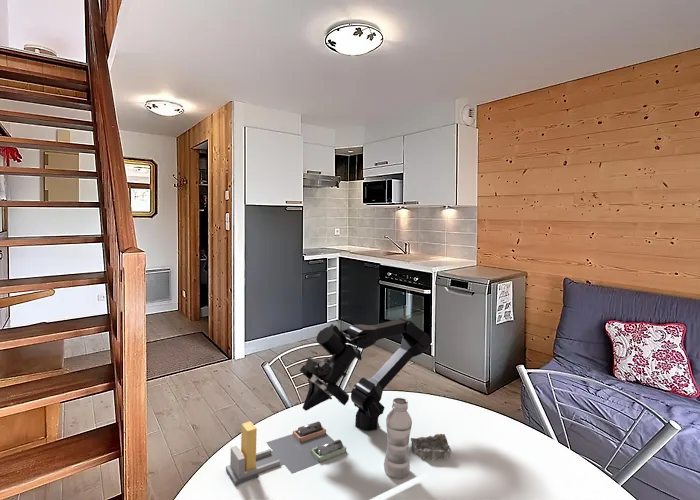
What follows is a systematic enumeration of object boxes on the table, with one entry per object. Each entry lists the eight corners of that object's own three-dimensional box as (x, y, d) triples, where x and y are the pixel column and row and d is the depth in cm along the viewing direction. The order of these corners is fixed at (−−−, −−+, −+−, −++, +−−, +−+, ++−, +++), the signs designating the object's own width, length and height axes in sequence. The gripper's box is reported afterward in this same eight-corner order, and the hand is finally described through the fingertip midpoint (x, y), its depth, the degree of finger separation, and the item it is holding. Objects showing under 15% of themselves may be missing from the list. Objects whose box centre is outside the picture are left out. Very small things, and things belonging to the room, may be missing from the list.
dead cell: (317, 429, 122) (316, 420, 122) (321, 432, 120) (321, 423, 120) (296, 435, 118) (296, 426, 118) (301, 439, 116) (300, 429, 116)
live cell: (336, 444, 114) (338, 437, 113) (341, 452, 112) (343, 444, 111) (315, 452, 110) (316, 444, 109) (320, 460, 107) (322, 452, 107)
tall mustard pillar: (249, 460, 105) (250, 421, 104) (255, 469, 102) (256, 428, 101) (240, 463, 104) (241, 423, 103) (246, 472, 100) (247, 431, 99)
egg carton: (445, 446, 118) (446, 433, 118) (452, 462, 111) (453, 448, 110) (409, 444, 118) (410, 431, 118) (413, 460, 111) (414, 446, 110)
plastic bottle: (408, 485, 100) (413, 409, 98) (381, 480, 101) (385, 405, 99) (410, 469, 106) (414, 397, 104) (384, 465, 108) (388, 393, 106)
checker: (317, 428, 124) (318, 410, 123) (347, 455, 111) (347, 435, 111) (220, 460, 107) (220, 439, 106) (241, 496, 94) (242, 472, 93)
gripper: (306, 337, 120) (271, 381, 114) (341, 358, 105) (302, 409, 99) (327, 358, 125) (295, 401, 120) (364, 380, 110) (328, 430, 105)
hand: (304, 409), depth 111 cm, fingers closed
